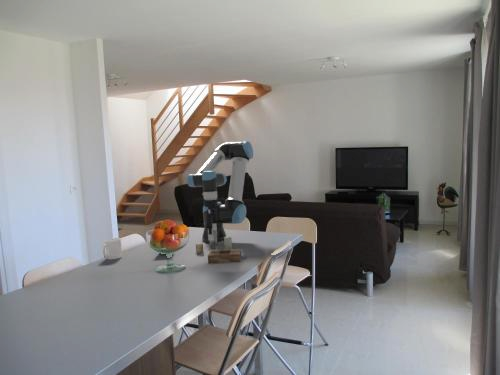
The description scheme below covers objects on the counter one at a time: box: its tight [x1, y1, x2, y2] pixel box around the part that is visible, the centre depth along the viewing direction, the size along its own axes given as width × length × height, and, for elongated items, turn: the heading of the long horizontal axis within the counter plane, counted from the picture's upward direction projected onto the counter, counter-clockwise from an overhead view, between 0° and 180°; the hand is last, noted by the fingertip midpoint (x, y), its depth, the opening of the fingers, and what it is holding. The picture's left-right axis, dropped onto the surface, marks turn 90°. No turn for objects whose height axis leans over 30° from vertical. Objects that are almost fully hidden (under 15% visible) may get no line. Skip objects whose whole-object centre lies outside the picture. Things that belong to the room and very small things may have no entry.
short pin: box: [195, 242, 205, 255], centre depth 226 cm, size 4×4×5 cm
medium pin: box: [223, 236, 233, 249], centre depth 225 cm, size 4×4×8 cm
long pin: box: [209, 230, 218, 252], centre depth 225 cm, size 4×4×12 cm
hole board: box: [207, 248, 243, 265], centre depth 209 cm, size 12×16×4 cm
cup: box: [102, 237, 123, 261], centre depth 224 cm, size 8×12×10 cm
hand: (212, 237), depth 224 cm, fingers open, 13 cm apart
